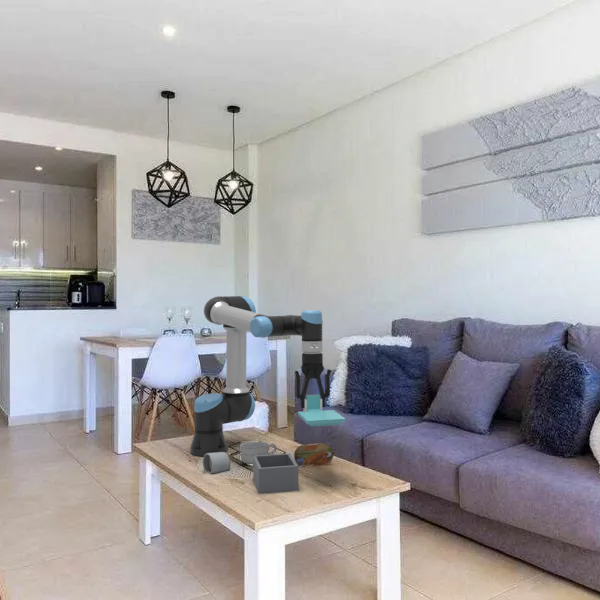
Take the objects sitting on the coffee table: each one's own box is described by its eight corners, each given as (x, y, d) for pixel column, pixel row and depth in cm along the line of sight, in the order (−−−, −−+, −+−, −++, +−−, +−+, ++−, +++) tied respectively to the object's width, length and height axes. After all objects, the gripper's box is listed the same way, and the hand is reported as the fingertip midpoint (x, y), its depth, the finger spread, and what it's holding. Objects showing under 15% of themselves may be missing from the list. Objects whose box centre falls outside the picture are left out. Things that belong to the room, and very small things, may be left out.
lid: (294, 414, 199) (294, 395, 199) (329, 412, 202) (329, 393, 202) (307, 427, 179) (307, 406, 179) (345, 425, 182) (345, 404, 182)
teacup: (239, 468, 205) (239, 447, 205) (241, 460, 216) (241, 440, 216) (276, 468, 206) (276, 446, 206) (276, 459, 217) (276, 439, 217)
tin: (295, 469, 205) (295, 446, 205) (293, 466, 208) (293, 444, 208) (333, 465, 209) (333, 443, 209) (330, 463, 212) (330, 441, 212)
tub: (253, 481, 190) (253, 455, 190) (290, 478, 193) (289, 453, 193) (258, 496, 176) (258, 468, 176) (298, 493, 178) (298, 466, 178)
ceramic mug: (232, 473, 200) (231, 452, 200) (211, 477, 195) (211, 456, 196) (218, 466, 209) (217, 446, 209) (198, 470, 204) (198, 450, 204)
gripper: (289, 354, 194) (290, 420, 194) (338, 352, 198) (339, 417, 198) (285, 352, 202) (286, 415, 202) (333, 351, 205) (334, 413, 205)
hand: (312, 416), depth 200 cm, fingers closed on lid, 5 cm apart
